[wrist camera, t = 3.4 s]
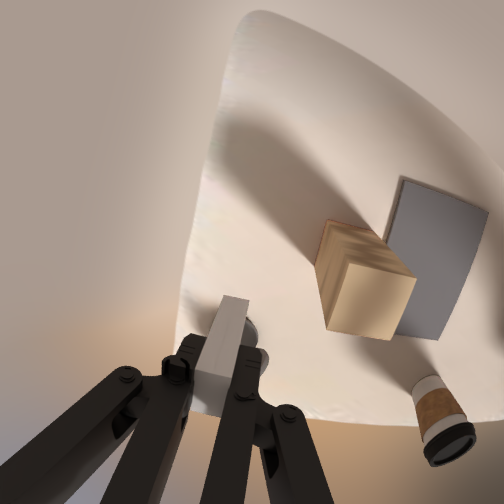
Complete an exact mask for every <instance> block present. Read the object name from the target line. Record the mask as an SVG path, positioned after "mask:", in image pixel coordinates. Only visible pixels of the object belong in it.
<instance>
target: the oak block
mask: <svg viewBox="0 0 504 504" xmlns="http://www.w3.org/2000/svg"><path fill="white" fill-rule="evenodd" d="M314 268H315V273H316V278H317V283H318V288H319V293H320V298H321V303H322V309H323V314H324V319H325V325H326V330H329V331H334V332H340V333H346V334H352V335H358V336H364V337H370V338H376V339H383V340H389V341H390V340H391V338H392V336H393V334H394V332H395V330H396V327H397V325H398V323H399V321H400V319H401V316H402V314H403V312H404V310H405V307H406V305H407V303H408V300H409V298H410V295H411V293H412V290H413V288H414V285H415V283H416V280H417V278H416V277H415V276H414V275H413V273H412V272H411V271H410V270H409V269H408V268H407V267H406V266H405V264H404V263H403V262H402V261H401V260H400V259H399V258H398V257H397V256H396V255H395V253H394V252H393V251H392V250H391V249H390V248H389V247H388V246H387V245H386V244H385V243H384V242H383V241H382V240H381V238H380V237H379V236H378V235H377V234H376V233H375V232H374V231H370V230H367V229H363V228H359V227H355V226H351V225H347V224H343V223H339V222H335V221H331V220H327V221H326V225H325V229H324V233H323V236H322V240H321V244H320V247H319V251H318V255H317V258H316V262H315V265H314Z"/></svg>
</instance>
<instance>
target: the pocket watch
mask: <svg viewBox="0 0 504 504" xmlns="http://www.w3.org/2000/svg"><path fill="white" fill-rule="evenodd" d="M257 342H258V333H257V330H256V328H255V326H254V325H253V324H252V323H251V322H250V321H249V320H247V319H245V324H244V328H243V333H242V337H241V342H240V344H241V345H245V346H250V347H256V345H257ZM259 349H260V352H261V354H262V362H261V371H260V376H261V375H262V374H263V373H264V371H265V369H266V367H267V365H268V362H269V356H268V354H267V352H266V351H265V350H264V349H261V348H259Z"/></svg>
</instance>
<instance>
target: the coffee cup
mask: <svg viewBox="0 0 504 504" xmlns="http://www.w3.org/2000/svg"><path fill="white" fill-rule="evenodd" d="M412 398H413V402H414V405H415V409H416V414H417V419H418V423H419V428H420V433H421V437H422V442H423V443H424V445H425V448H424V456H425V458H426V459H427V460H428V462H429V464H430V466H431V467H438V466H442V465H445V464H447V463H450V462H452V461H454V460H456V459H458V458H459V457H461V456H462V455H464V454H465V453H467V451H469V450H470V449H471V448H472V447H473V446H474V444H475V442H476V434H475V428H474V425H473V424H472V423H470V422H468V420H467V416H466V415H465V413H464V412H463V410H462V408H461V407H460V405H459V404H458V402H457V401H456V400H455V398H454V397H453V395H452V394H451V392H450V391H449V390H448V388H447V387H446V385H445V383H444V382H443V380H442V379H441V378H440V377H439V376H437V375H431V376H428V377H425V378H423V379H422V380H420V381H419V382H418V383H417V384H416V385H415V386H414V388H413V390H412Z"/></svg>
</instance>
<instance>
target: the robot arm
mask: <svg viewBox="0 0 504 504" xmlns="http://www.w3.org/2000/svg"><path fill="white" fill-rule="evenodd" d="M248 305H249V300H245V299H240V298H236V297H231V296H227V295H224V296H223V299H222V301H221V304H220V306H219V309H218V311H217V314H216V316H215V319H214V322H213V324H212V327H211V329H210V332H209V334H208V337H204V336H200V335H196V334H192V333H190V334H189V335H187V336H186V337H185V338H184V339H183V341H182V343H181V346H180V347H179V349H178V351H177V353H176V355H170V356H167V357H165V358H164V359H163V360H162V375H158V376H142V374H141V372H140V371H139V370H138V369H136V368H134V367H131V366H122V367H119V368H117V369H115V370H114V371H113V372H112V373H110V374H109V375H108V376H107V377H106V378H104V379H103V380H102V381H101V382H100V383H99V384H97V385H96V386H95V387H94V388H93V389H92V390H91V391H89V392H88V393H87V394H86V395H84V396H83V397H82V398H81V399H80V400H79V401H77V402H76V403H75V404H74V405H72V406H71V407H70V408H69V409H68V410H67V411H65V412H64V413H63V414H62V415H61V416H59V417H58V418H57V419H56V420H55V421H53V422H52V423H51V424H50V425H49V426H48V427H46V428H45V429H44V430H43V431H42V432H41V433H39V434H38V435H37V436H36V437H35V438H33V439H32V440H31V441H30V442H28V443H27V444H26V445H25V446H24V447H23V448H21V449H20V450H19V451H18V452H17V453H15V454H14V455H13V456H12V457H11V458H10V459H8V460H7V461H6V462H5V463H4V464H2V465H1V466H0V504H64V503H65V502H66V501H67V500H68V499H69V498H70V497H71V496H72V495H73V494H74V493H75V492H76V491H77V490H78V489H79V488H80V487H81V486H82V485H83V483H84V482H85V481H86V480H87V479H88V478H89V477H90V476H91V475H92V474H93V473H94V472H95V471H96V470H97V469H98V468H99V467H100V466H101V465H102V464H103V462H104V461H105V460H106V459H107V458H108V457H109V456H110V455H111V454H112V453H113V452H114V451H115V450H116V448H117V447H118V446H119V445H120V444H121V443H122V442H123V441H124V440H125V439H126V438H127V437H128V436H129V434H130V433H131V432H132V431H133V430H134V429H135V430H134V432H133V434H132V436H131V438H130V440H129V442H128V444H127V446H126V448H125V450H124V453H123V455H122V457H121V459H120V461H119V463H118V465H117V467H116V470H115V472H114V474H113V476H112V478H111V480H110V483H109V485H108V487H107V489H106V491H105V493H104V495H103V498H102V500H101V502H100V504H159V503H160V500H161V497H162V494H163V491H164V488H165V485H166V482H167V479H168V476H169V473H170V470H171V467H172V464H173V461H174V459H175V455H176V453H177V450H178V447H179V444H180V441H181V438H182V435H183V432H184V429H185V426H186V423H187V420H188V413H189V410H190V407H191V410H192V411H195V412H199V413H203V414H207V415H211V416H216V417H220V418H221V420H220V424H219V428H218V432H217V436H216V440H215V444H214V448H213V452H212V456H211V460H210V464H209V468H208V472H207V477H206V480H205V484H204V488H203V492H202V496H201V500H200V504H244V499H245V493H246V486H247V479H248V471H249V465H250V458H251V451H252V444H253V445H255V446H257V447H260V448H259V449H260V454H261V459H262V465H263V469H264V475H265V480H266V485H267V489H268V494H269V498H270V504H334V501H333V499H332V496H331V493H330V490H329V487H328V484H327V481H326V478H325V475H324V472H323V469H322V466H321V463H320V460H319V457H318V455H317V451H316V449H315V446H314V443H313V440H312V437H311V434H310V431H309V428H308V425H307V422H306V419H305V416H304V414H303V412H302V411H301V410H300V409H299V408H298V407H296V406H293V405H289V404H283V405H279V406H278V407H274V406H272V405H270V404H268V403H266V402H265V401H264V400H262V398H261V397H260V396H259V393H258V387H259V379H260V371H261V362H262V354H261V352H260V349H259V348H255V347H250V346H245V345H241V344H240V342H241V337H242V333H243V328H244V324H245V319H246V315H247V310H248Z"/></svg>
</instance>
